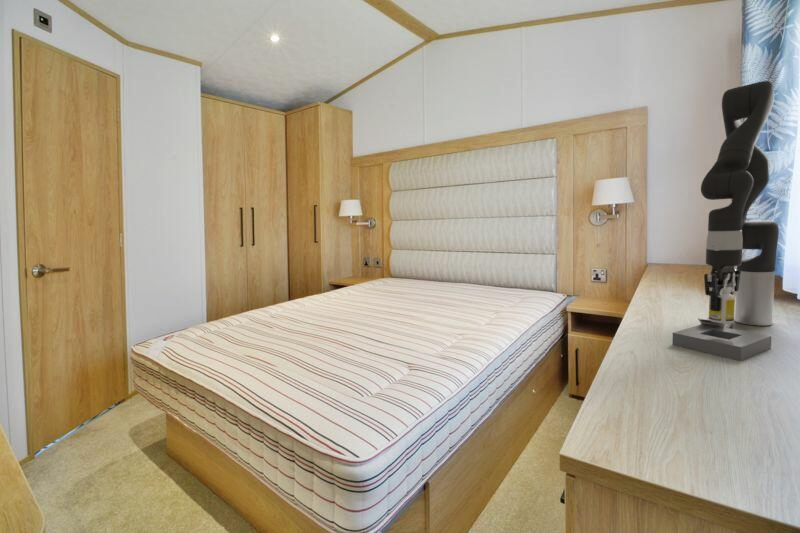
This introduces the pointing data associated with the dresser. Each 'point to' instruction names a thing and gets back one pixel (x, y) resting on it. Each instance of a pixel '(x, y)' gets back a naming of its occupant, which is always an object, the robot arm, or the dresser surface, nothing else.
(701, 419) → the dresser surface
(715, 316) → the supplement bottle
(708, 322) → the mobile phone
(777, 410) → the dresser surface
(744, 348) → the socket block
